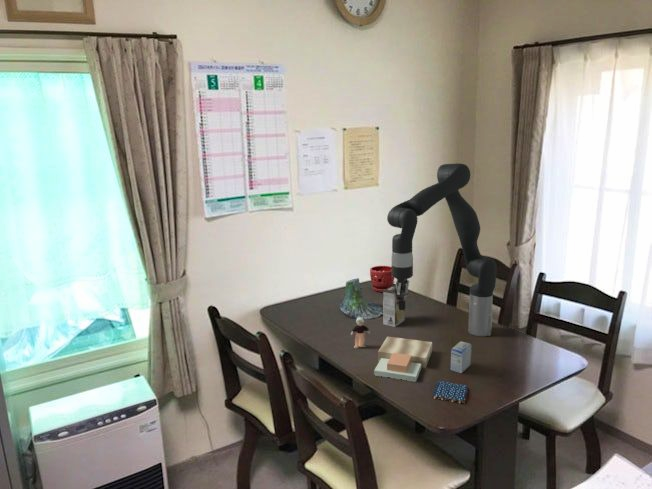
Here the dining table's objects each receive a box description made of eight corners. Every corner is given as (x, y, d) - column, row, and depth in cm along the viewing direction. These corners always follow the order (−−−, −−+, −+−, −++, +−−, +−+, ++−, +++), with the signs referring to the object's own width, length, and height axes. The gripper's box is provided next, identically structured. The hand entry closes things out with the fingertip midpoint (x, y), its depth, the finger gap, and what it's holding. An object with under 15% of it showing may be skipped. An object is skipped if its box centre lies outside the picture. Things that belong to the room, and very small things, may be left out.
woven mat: (465, 406, 157) (465, 400, 157) (431, 400, 161) (432, 394, 161) (469, 390, 167) (469, 384, 166) (437, 384, 171) (437, 379, 170)
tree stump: (371, 324, 223) (361, 285, 220) (334, 325, 236) (324, 288, 233) (391, 308, 238) (381, 272, 235) (355, 310, 251) (346, 275, 248)
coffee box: (392, 317, 229) (392, 284, 225) (405, 320, 225) (405, 287, 221) (382, 324, 222) (382, 290, 218) (395, 327, 218) (395, 293, 214)
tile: (411, 361, 182) (411, 355, 182) (406, 372, 174) (406, 366, 174) (393, 358, 185) (393, 352, 184) (387, 370, 177) (387, 363, 176)
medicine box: (459, 362, 185) (460, 340, 183) (470, 365, 182) (471, 343, 180) (450, 370, 179) (450, 348, 177) (461, 374, 176) (462, 351, 174)
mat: (421, 368, 181) (421, 363, 180) (415, 381, 172) (415, 376, 171) (381, 362, 186) (381, 358, 186) (374, 375, 177) (374, 370, 177)
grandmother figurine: (353, 350, 198) (352, 320, 195) (350, 346, 201) (349, 316, 198) (371, 347, 200) (371, 317, 196) (368, 343, 203) (367, 314, 200)
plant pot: (399, 290, 265) (399, 268, 262) (379, 295, 259) (379, 273, 256) (385, 284, 276) (384, 263, 273) (365, 288, 270) (365, 267, 267)
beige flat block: (432, 351, 194) (432, 342, 193) (425, 368, 181) (425, 358, 180) (387, 345, 200) (387, 336, 199) (378, 361, 188) (378, 351, 187)
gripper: (408, 269, 168) (408, 317, 172) (416, 259, 180) (415, 304, 184) (387, 268, 171) (387, 314, 175) (396, 258, 183) (396, 302, 187)
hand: (402, 309), depth 180 cm, fingers closed
